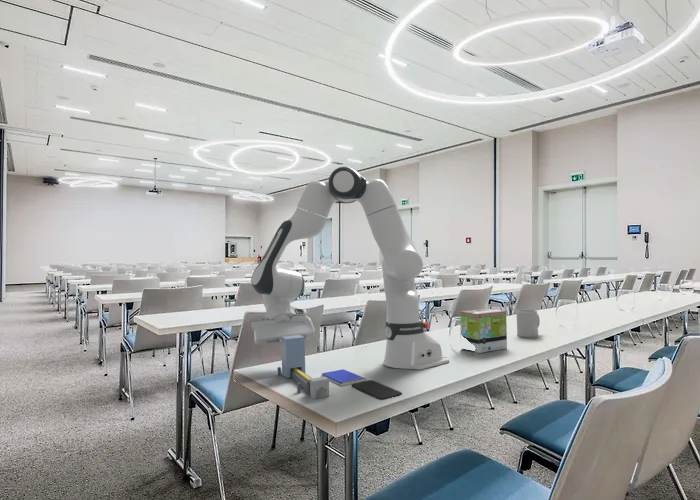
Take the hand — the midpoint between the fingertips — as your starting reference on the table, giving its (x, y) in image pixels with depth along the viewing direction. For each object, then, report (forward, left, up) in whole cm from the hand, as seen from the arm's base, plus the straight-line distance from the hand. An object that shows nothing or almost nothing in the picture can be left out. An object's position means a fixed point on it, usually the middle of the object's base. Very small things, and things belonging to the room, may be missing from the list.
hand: (289, 351), depth 133 cm
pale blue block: (0, +4, -7) cm, 8 cm away
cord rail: (0, +13, -7) cm, 15 cm away
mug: (-111, -3, -7) cm, 111 cm away
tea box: (-75, +7, -7) cm, 76 cm away
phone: (-15, +30, -7) cm, 34 cm away
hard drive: (-12, +15, -8) cm, 21 cm away
